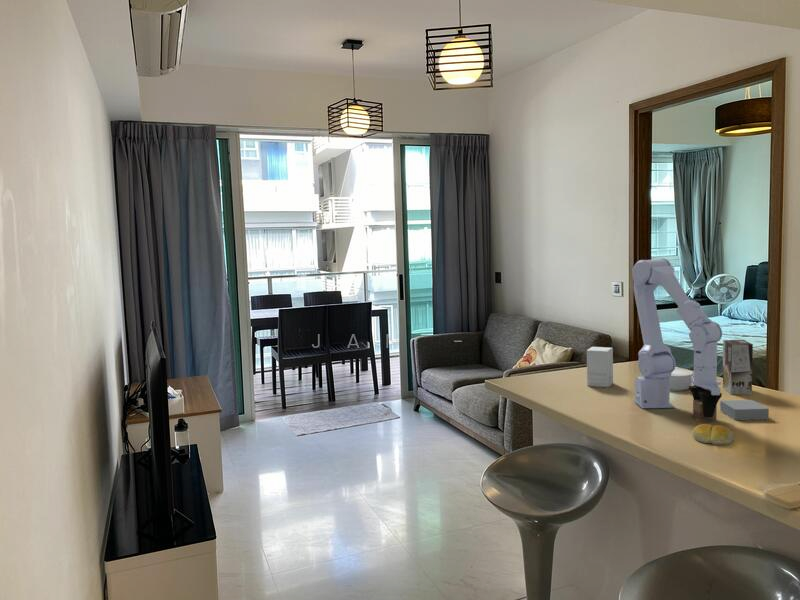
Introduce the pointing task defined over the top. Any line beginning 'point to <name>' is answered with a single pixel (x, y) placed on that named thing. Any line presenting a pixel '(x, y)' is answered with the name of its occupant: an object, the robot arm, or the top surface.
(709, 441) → the bread roll
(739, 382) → the coffee box
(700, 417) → the walnut block
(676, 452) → the top surface
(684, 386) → the ramekin
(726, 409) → the block
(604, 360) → the supplement box
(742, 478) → the top surface
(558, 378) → the top surface
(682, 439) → the top surface
